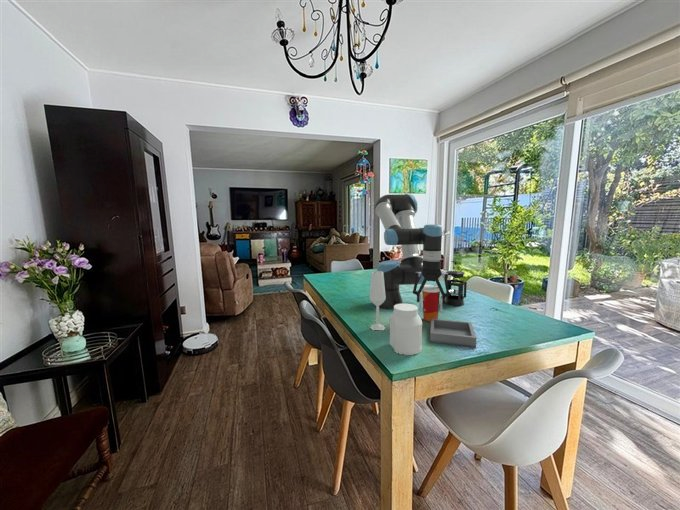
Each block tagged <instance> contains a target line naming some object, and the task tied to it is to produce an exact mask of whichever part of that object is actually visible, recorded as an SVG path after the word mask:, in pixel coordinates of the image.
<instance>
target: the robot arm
mask: <svg viewBox="0 0 680 510" xmlns="http://www.w3.org/2000/svg"><path fill="white" fill-rule="evenodd" d="M373 210H374V212H375V214H376V216H377V217H378V218H379V219H380V222H381V224H382V226H383V228H384V232H383V240H384V241H383V242H384V244H385V245H387V246H401V253H402V259H401V260H400V261H399V260H397V259H395V260H394V259H389V260H384V261H381V262H379V263H377V267H376V271H382V272H383V274H384V285H385V295H386V299H385V301H384V302H383V303H382V304H381V305H380V306H379V309H380V308H381V309H394V305H396V304H403V298H402V296H401V292H400V286H405V285H406V286H407V285H408V286H409V285H410V286H411V285H412V286H413V289H412V294H413V295H416V303H418V304H419V305H418V311H422V289H423V287H424V285H426V284H427V282H435V283H436V286H438V288H439V289H440V297H439V311H440V313H442V312H443V305H446V304H445V297H447V296H450V293H449V287H448V281H447V280H448V278H449V275H448V273H446V272H442V269H441V267H442V261H441V260H442V243H443V242H442V239H443V238H442V237H443V232H442V231H443V230H442V229H443V227H442V225H441V224H425V225H424V226H423V227H418V228H417V227H416V228H415V222H414V217H416V216H415V215H416V214H417V212H418V201H417V198H416V196H415V195H413V194H411V193H410V194H408V193H404V194H402V193H401V194H399V193H398V194H385V195H382V196H380V197H379V198H378V199H377V201H376V202H375V204H374V209H373ZM418 245H422V248H423V249H422V256H420V253H419V247H418ZM441 276H442V278H443V280H444V286H445V291H444V289H443V286H442V284H441V281H440V277H441ZM418 285H420V287H418ZM417 287H418V290H417ZM374 306H375V307H376V305H374Z"/></svg>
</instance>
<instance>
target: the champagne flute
mask: <svg viewBox="0 0 680 510" xmlns="http://www.w3.org/2000/svg"><path fill="white" fill-rule="evenodd" d="M370 277H371V278H370V289H369V300H370V302H371V303H372V304H373V305H374V306H375V305H376V306H375V315H376V317H375V318H376V319H375V321H376V322H375V324H372V325H370V326H371V327H370V326H369V329H370V328H371V329H372V331H374V330H383V331H384V329H385V328H386V326H385V327H384V325H383V324H381V323H380V307H379V306H380V305H381V304H382V303H383V302H384V301H385V299H386V295H385V285H384V274H383V272H382V271H377V270H374V271H371V276H370ZM371 329H370V330H371ZM385 330H386V329H385Z"/></svg>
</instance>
